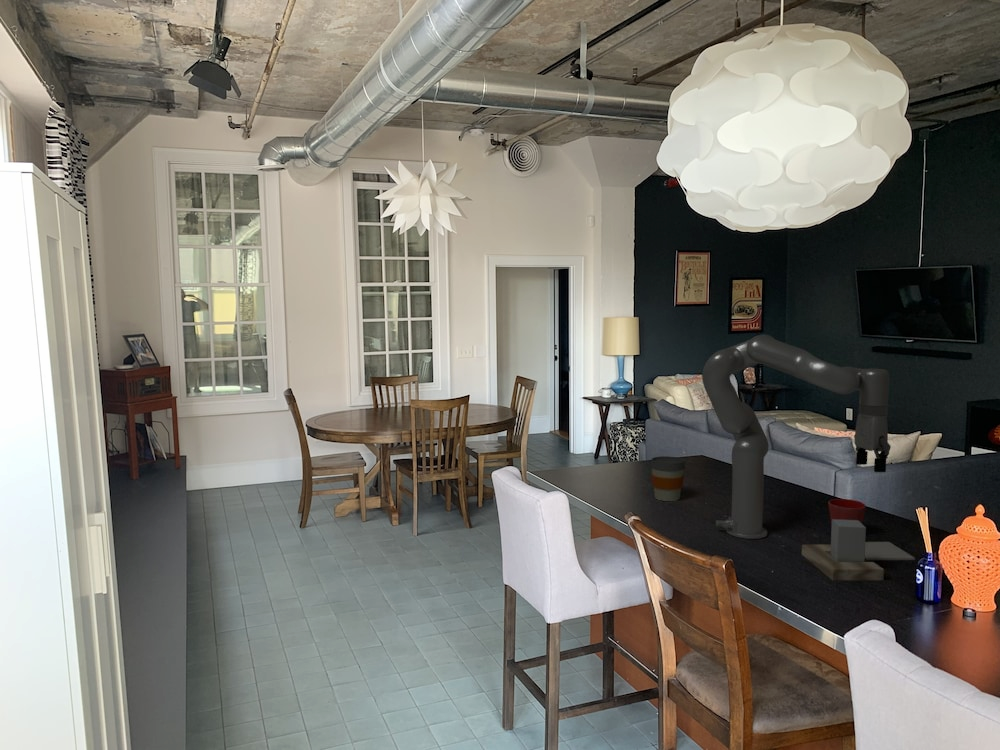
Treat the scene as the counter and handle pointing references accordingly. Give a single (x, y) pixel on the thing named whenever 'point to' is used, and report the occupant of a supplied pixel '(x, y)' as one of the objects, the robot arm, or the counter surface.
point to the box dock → (840, 565)
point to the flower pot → (846, 509)
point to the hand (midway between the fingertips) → (870, 468)
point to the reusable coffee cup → (667, 477)
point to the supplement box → (848, 540)
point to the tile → (885, 552)
